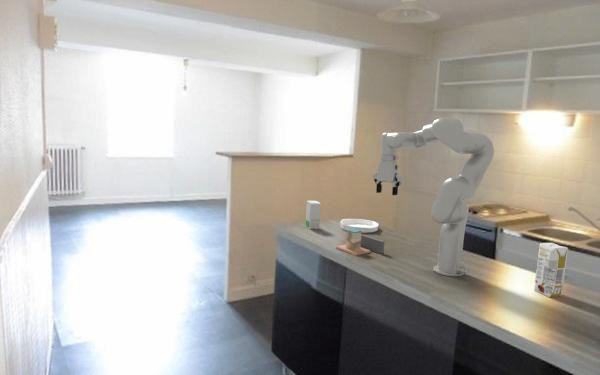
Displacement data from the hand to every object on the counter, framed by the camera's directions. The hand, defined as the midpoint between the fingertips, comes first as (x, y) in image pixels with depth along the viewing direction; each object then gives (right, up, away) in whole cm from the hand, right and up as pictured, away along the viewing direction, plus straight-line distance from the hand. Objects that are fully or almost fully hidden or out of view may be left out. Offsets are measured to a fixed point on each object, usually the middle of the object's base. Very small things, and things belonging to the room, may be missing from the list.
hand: (386, 193), depth 207 cm
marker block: (-16, -27, +2) cm, 31 cm away
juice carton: (+52, -38, -44) cm, 78 cm away
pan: (-7, -22, +48) cm, 53 cm away
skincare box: (-35, -21, +45) cm, 61 cm away
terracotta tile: (-16, -28, +2) cm, 32 cm away
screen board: (-9, -27, +7) cm, 30 cm away
